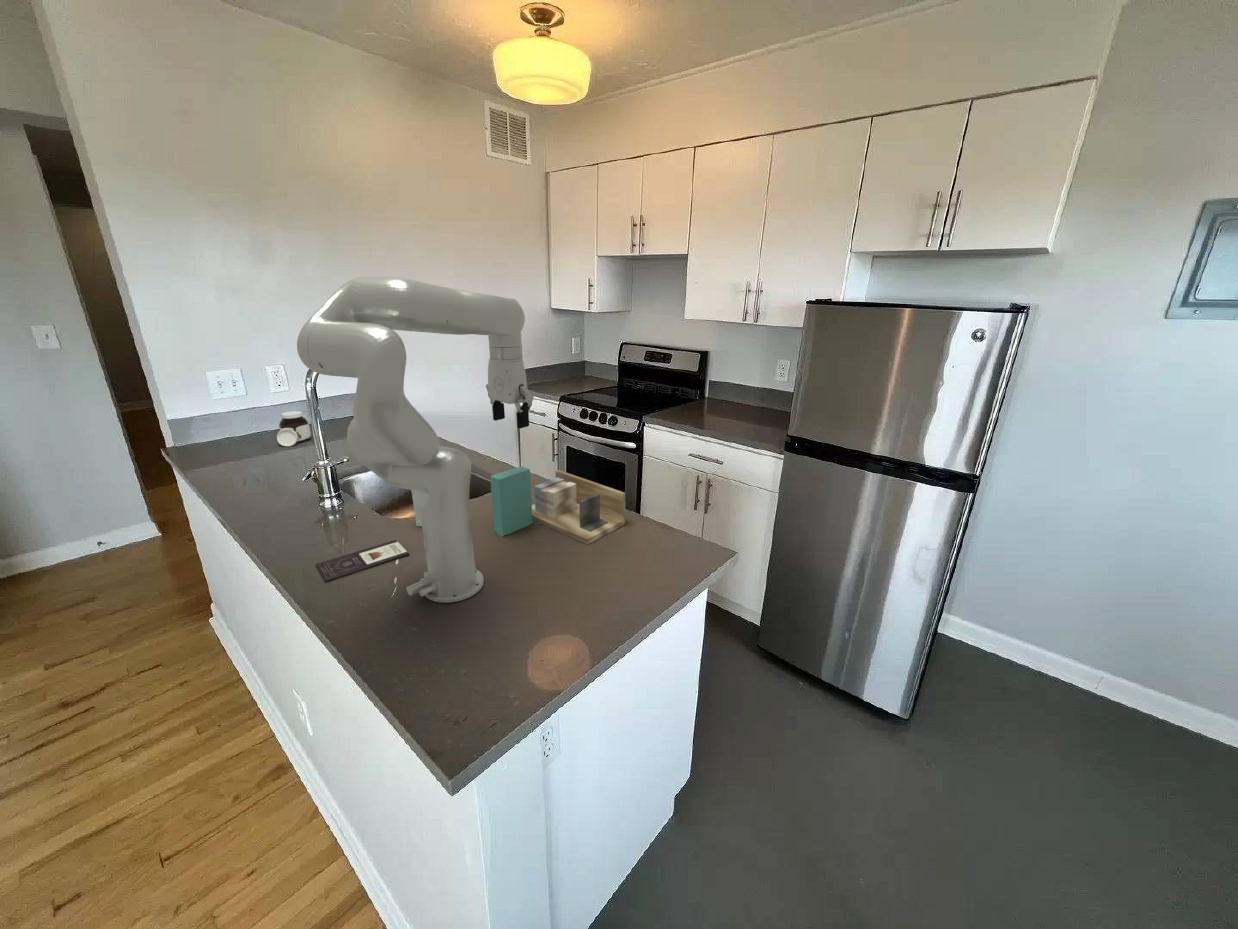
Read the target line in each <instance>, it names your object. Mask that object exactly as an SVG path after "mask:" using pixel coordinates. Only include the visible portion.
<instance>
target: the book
mask: <svg viewBox="0 0 1238 929" xmlns="http://www.w3.org/2000/svg"><path fill="white" fill-rule="evenodd" d="M489 477H490V490H491V503H492V517H493V529H494V530H493V531H494V534H496V535H498V534H499V535H498V536H500V535H501V537H502V536H504V535H506V536H507V534H508V535H511V534H512V532H513V533H515V532H517V531H519V530H521V529H520V528H522V529H524V528H526V527H529V526H530V524H531V525H533V520H532V505H533V504H532V487H531V486H532V485H531V484H532V483H531V470H530V468H527V467H525V466H522V465H521V466H518V467H514V468H510V469H507V470H504V471H501V472H499V473H495V474H493V475H490V476H489ZM518 529H519V530H518ZM516 530H517V531H516ZM514 531H515V532H514ZM504 537H505V536H504Z"/></svg>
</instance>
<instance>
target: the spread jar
mask: <svg viewBox="0 0 1238 929" xmlns="http://www.w3.org/2000/svg"><path fill="white" fill-rule="evenodd" d="M281 417H282V419H281V420H280V421H279V424H278V426H279V431H278V432H277V434H276V439H277V442H278V443H279V445H281V446H284V447H291V446H294V445H296V444H302V443H305V442H308V440H309V439H310V438H311V435H312V434H311V428H310V424H309V421H308V419H306V418H305V417H304V416H303V412H302V411H299V410H293V411H291V410H290V411H286V412H282V413H281Z"/></svg>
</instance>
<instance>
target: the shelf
mask: <svg viewBox="0 0 1238 929" xmlns="http://www.w3.org/2000/svg"><path fill="white" fill-rule="evenodd" d="M533 490H534V504H531V505H532V521H533V522H536V521H537V522H536V523H538V522H539V524H540V523H541V525H542V524H543V526H545V527H547V528H549V529H551V528H552V530H554V531H556V532H559V533H560V534H562V535H565V536H567V537H569V538H572V539H574V540H576V541H578V540H579V541H578V542H580V541H581V543H582V542H583V543H582V544H585V545H586V546H587V545H590V544H591V543H593V542H595V541H597V540H599V539H601V538H603V537H604V536H607V535H608V534H610V533H612V532H614V531H616V530H617V529H620V528H621V527H623V526H625V525H626V524H625V523H626V492H623V491H621V490H618V489H615V488H613V487H609V486H606V485H604V484H601V483H599V482H595V481H592V480H589V479H586V478H584V477H580V476H577V475H574V474H572V473H569V472H567V471H563V470H560V469H556V470H555V478H553V479H550V480H547V481H545V482H541V483H539V484H537V485H534V488H533Z"/></svg>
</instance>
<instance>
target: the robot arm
mask: <svg viewBox="0 0 1238 929" xmlns="http://www.w3.org/2000/svg"><path fill="white" fill-rule="evenodd" d="M525 318H526V317H525V312H524V310H523V308H522V306H521V304H520V303H519V301H518V300H517V299H515V298H511V297H509V298H507V297H505V296H498V295H492V294H485V293H481V292H480V293H479V292H473V291H469V290H464V289H458V288H452V287H451V288H450V287H446V286H441V285H435V284H431V283H427V282H423V281H420V280H419V281H418V280H413V279H409V278H405V277H394V276H393V277H392V276H384V277H383V276H382V277H381V276H359V277H354V278H351V279H350V280H348V281H347V282H345V283H344V284H342V285H341V286H340V287H339V288H338V289H337V290H336V291H335V292H334V293H332V294H331V296H329V297H328V299H327V300H326V301H325V302H324V303H323V304H322V305H321V306H320V307H319V308H318V309H317V310H316V311H315V312H314V313H313V315H312V316H310V317H309V319H308V320H307V321H306V322H305V323H304V324H303V326H302V327H301V329H300V330H299V334H298V336H297V339H296V350H297V354H298V356H299V358H300V361H301V362H302V364H303V365H304V366H306V367H307V369H310V370H311V371H312V372H314V373H318V374H320V375H323V376H330V377H331V376H332V377H342V378H354V379H357V383H356V389H355V395H354V400H353V405H352V415H353V419H352V420H351V421H350V423H349V424H348V428H347V433H346V439H347V444H348V448H349V449H350V451H351V454H352V455H353V456H354V457H355V459H356V460H357V461H359V462H360V463H361V464H362V465H363V466H365V467H366V468H367V469H369V470H370V471H371V472H372V473H374V474H375V475H376V476H378V478H380V479H381V480H382V481H384V482H385V483H386V484H388V485H390V486H391V487H395V488H397V489H403V490H410V491H411V490H414V491H420V492H424V493H427V494H428V496H429V497H428V500H427V502H426V504H425V505H424V507H423V509H422V513H421V522H422V526H421V527H422V534H423V543H424V551H425V558H426V564H427V570H426V571H425V572H423V574H422V575H423V577H422V578H420V580H419V581H418V582H415V583H413V584H410V585H409V586H406V592H407V594H408V596H413V595H415V594H418V593H419V595H420V597H425V598H426V599H428V600H429V601H433V602H436V603H444V604H445V603H456V602H457V603H458V602H459V601H460V602H461V601H464V600H466V599H469V598H471V597H473V596H474V595H475V594H477V593H478V592H479V591H481V589H482V588H483V586H484V583H485V581H484V580H485V578H484V574H483V573H482V572H481V571H480V570H478V569H477V568H476V564H475V563H476V562H475V552H474V543H473V532H472V523H471V522H472V521H471V519H472V518H471V512H470V510H471V509H470V508H471V507H470V488H471V486H470V484H471V477H472V463H471V461H470V459H469V457H468V456H467V455H466V454H465V452H462V451H461V450H459V449H456V448H454V447H450V446H443V445H440V440H439V436H438V435H437V433H436V431H435V429H434V428H433V426H432V425H431V424H430V423H429V422H428V421H427V420H426V419H425V418H424V416H422V414H421V413H420V412H419V411H418V410H417V409H416V408H415V406H413V404H412V403H411V402H410V401H409V399H408V397H406V394H405V390H404V389H405V387H404V386H405V385H404V382H405V374H406V366H407V350H406V347H405V344H404V341H403V339H402V338H401V336H400V335H399V334H398V333H397V332H396V331H403V332H416V333H417V332H418V333H430V334H431V333H432V334H438V335H439V334H440V335H457V336H458V335H459V336H461V335H463V336H464V335H465V336H466V335H478V336H479V335H480V336H488V349H489V358H488V364H487V366H488V367H487V384H485V388H486V391H487V395H488V397H489V400H490V401H489V402H490V405H491V408H492V420H493V421H499V420H500V421H501V420H504V419H505V418H506V414H505V404H507V405H512V404H513V405H514V406H515V407H516V408H515V409H516V410H517V411H516V413H515V414H516V426H517V428H518V429H523V428H528V427H529V426H530V415H529V414H530V413H529V411H531V407H532V405H533V402H534V397H535V396H534V395H533V394H532V392H530V391H529V389H528V383H527V381H528V380H527V374H526V368H525V365H524V364H525V363H524V359H523V358H524V357H523V342H522V331H523V328H524V326H525V322H526V321H525V320H526V319H525Z"/></svg>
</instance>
